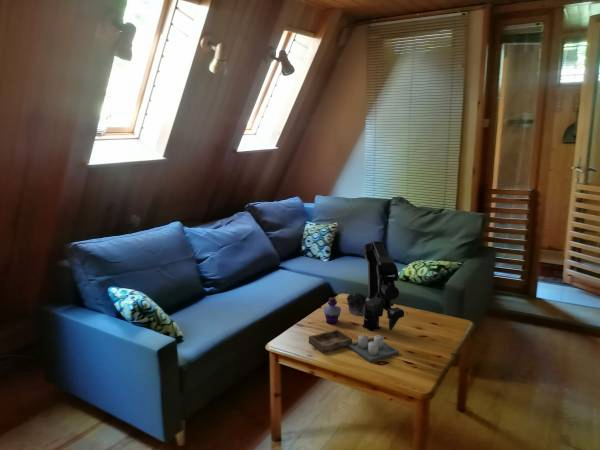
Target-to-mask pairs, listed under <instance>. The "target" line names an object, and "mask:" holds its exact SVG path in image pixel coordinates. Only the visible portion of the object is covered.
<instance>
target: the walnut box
mask: <svg viewBox="0 0 600 450" xmlns="http://www.w3.org/2000/svg"><path fill="white" fill-rule="evenodd" d="M351 343H353V338H351V337H350V336H349V335H347V334H345V333H344V332H343V331H342V330H340V329H334V330H329V331H324V332H320V333H317V334H313V335H309V336H308V344H310V345H311V346H312V347H313V348H315V349H316V350H318V351H319V352H320V353H321V354H325V353H329V352H333V351H336V350H340V349H344V348H348V344H351Z"/></svg>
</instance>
